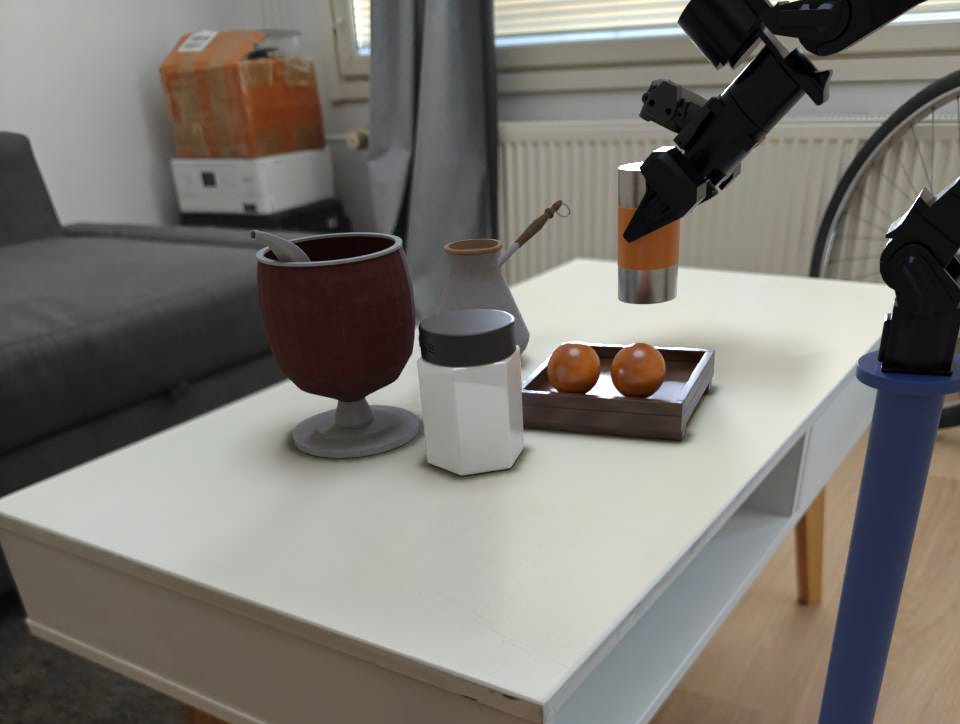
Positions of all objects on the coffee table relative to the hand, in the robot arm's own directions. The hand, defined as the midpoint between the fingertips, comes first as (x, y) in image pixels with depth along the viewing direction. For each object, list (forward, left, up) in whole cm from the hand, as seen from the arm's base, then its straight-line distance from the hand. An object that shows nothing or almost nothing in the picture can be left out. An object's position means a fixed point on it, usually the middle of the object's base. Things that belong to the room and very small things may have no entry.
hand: (636, 232), depth 98 cm
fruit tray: (-3, +17, -13) cm, 22 cm away
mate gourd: (+20, +30, -13) cm, 39 cm away
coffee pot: (+14, +2, -13) cm, 20 cm away
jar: (+6, +32, -13) cm, 35 cm away
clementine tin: (-1, 0, -7) cm, 7 cm away
